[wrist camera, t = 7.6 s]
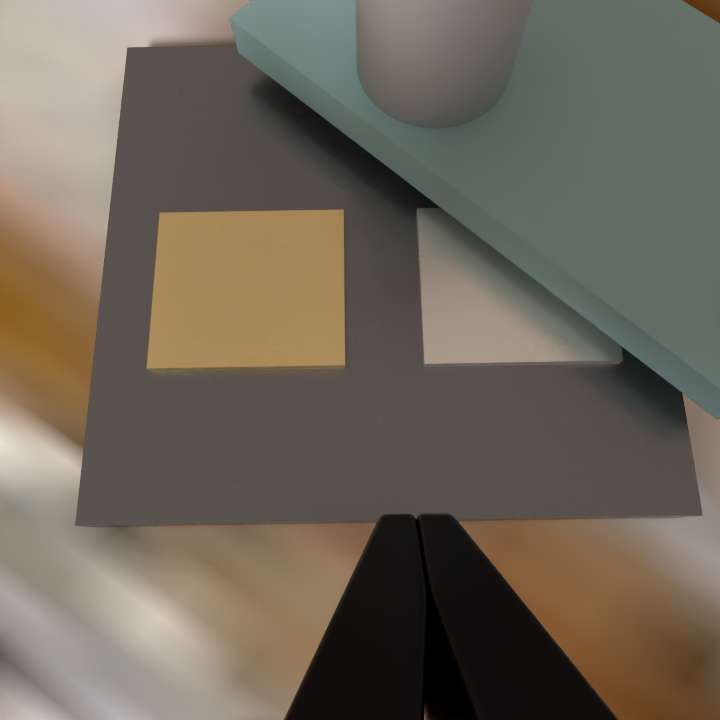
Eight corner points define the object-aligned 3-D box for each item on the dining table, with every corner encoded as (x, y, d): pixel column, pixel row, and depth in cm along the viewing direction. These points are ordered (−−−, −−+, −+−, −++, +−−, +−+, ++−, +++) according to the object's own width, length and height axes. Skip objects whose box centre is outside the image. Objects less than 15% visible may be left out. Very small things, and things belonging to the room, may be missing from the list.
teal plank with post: (737, 468, 16) (1392, 331, 6) (246, 86, 19) (117, -422, 9) (901, 241, 18) (1621, -168, 8) (425, -72, 21) (482, -646, 11)
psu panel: (938, 512, 16) (1183, 498, 11) (92, 527, 16) (-24, 518, 11) (815, 59, 20) (958, -94, 15) (138, 71, 20) (67, -79, 15)
